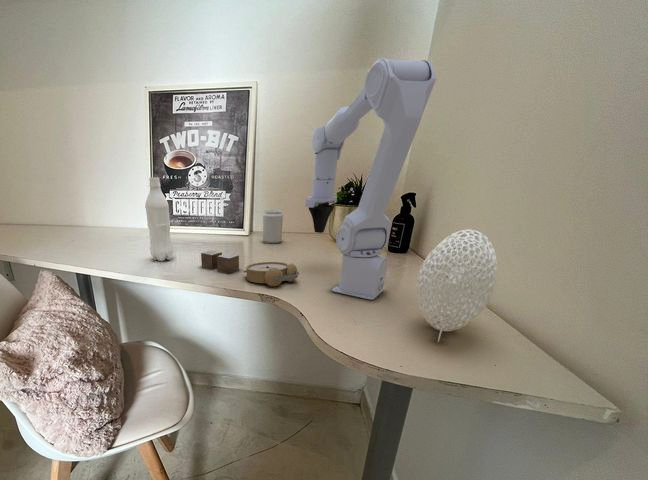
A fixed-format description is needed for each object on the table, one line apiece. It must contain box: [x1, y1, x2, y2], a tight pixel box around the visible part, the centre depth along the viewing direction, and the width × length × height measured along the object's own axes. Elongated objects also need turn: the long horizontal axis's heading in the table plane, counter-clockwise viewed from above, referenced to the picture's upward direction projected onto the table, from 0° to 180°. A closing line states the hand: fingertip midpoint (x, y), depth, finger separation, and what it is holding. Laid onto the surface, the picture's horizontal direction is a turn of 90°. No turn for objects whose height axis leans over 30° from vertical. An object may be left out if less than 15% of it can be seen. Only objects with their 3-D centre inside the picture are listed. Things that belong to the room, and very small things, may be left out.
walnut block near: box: [217, 252, 240, 274], centre depth 96 cm, size 4×4×4 cm
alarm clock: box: [242, 261, 300, 287], centre depth 87 cm, size 11×5×15 cm
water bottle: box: [144, 176, 174, 262], centre depth 105 cm, size 7×7×25 cm
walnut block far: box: [200, 250, 223, 271], centre depth 99 cm, size 4×4×4 cm
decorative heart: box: [415, 228, 498, 343], centre depth 56 cm, size 18×11×17 cm, turn 141°
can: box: [262, 209, 284, 244], centre depth 130 cm, size 8×8×12 cm
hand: (319, 232), depth 93 cm, fingers closed
